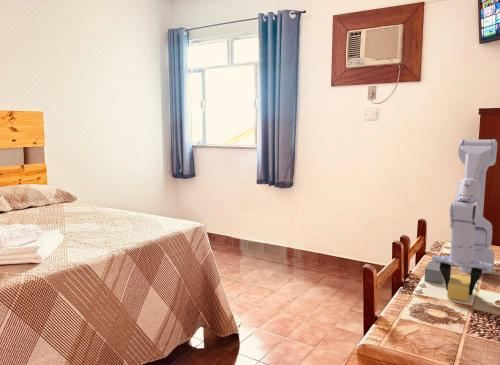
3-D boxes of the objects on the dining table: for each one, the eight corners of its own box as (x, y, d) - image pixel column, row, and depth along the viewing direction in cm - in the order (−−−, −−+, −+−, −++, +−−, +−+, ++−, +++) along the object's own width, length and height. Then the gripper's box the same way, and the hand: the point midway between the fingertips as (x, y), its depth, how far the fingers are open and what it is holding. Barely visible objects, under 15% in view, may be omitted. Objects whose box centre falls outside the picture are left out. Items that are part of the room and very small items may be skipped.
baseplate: (425, 274, 131) (426, 269, 131) (478, 283, 123) (478, 278, 123) (412, 296, 115) (412, 290, 114) (472, 309, 107) (472, 302, 106)
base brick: (429, 272, 130) (429, 261, 129) (446, 275, 127) (447, 263, 126) (424, 281, 123) (425, 268, 122) (442, 284, 120) (443, 271, 120)
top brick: (451, 287, 117) (452, 274, 117) (470, 291, 114) (471, 277, 114) (447, 297, 111) (448, 283, 110) (467, 301, 108) (468, 287, 107)
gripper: (431, 244, 111) (428, 291, 113) (492, 253, 103) (488, 303, 105) (435, 238, 117) (433, 282, 119) (493, 245, 109) (490, 293, 111)
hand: (459, 291), depth 112 cm, fingers closed on top brick, 5 cm apart
